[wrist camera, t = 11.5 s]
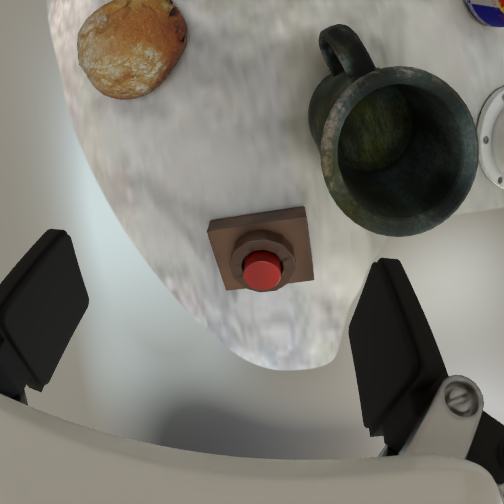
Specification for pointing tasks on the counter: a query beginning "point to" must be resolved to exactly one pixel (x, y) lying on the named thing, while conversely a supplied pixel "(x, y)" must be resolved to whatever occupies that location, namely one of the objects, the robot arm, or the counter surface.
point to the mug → (390, 140)
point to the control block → (263, 245)
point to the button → (262, 270)
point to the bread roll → (131, 46)
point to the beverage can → (487, 11)
